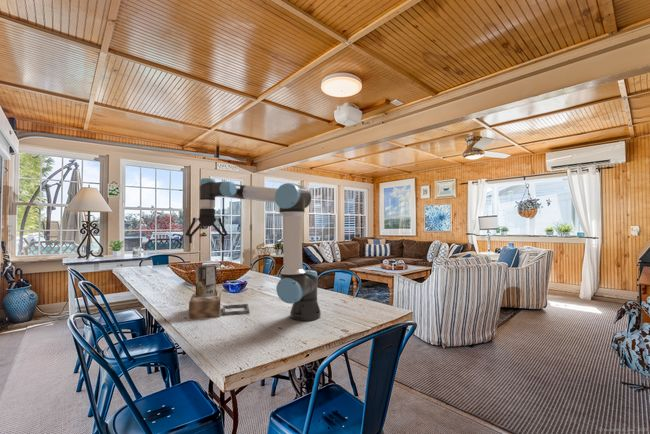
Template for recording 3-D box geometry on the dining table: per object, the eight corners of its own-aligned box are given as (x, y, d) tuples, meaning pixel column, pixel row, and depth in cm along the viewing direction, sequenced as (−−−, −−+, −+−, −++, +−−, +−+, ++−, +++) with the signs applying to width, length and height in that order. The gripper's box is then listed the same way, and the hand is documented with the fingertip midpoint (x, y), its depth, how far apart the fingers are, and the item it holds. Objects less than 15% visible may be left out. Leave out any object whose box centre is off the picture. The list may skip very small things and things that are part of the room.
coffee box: (216, 297, 161) (217, 266, 162) (205, 299, 156) (206, 267, 156) (205, 295, 166) (206, 264, 167) (194, 297, 161) (195, 266, 161)
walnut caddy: (247, 305, 176) (247, 288, 176) (249, 314, 159) (249, 295, 159) (192, 309, 167) (193, 291, 168) (188, 319, 150) (189, 299, 150)
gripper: (232, 209, 169) (231, 248, 169) (182, 208, 162) (181, 249, 162) (232, 208, 162) (232, 249, 162) (180, 207, 155) (179, 250, 154)
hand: (206, 249), depth 162 cm, fingers open, 13 cm apart
